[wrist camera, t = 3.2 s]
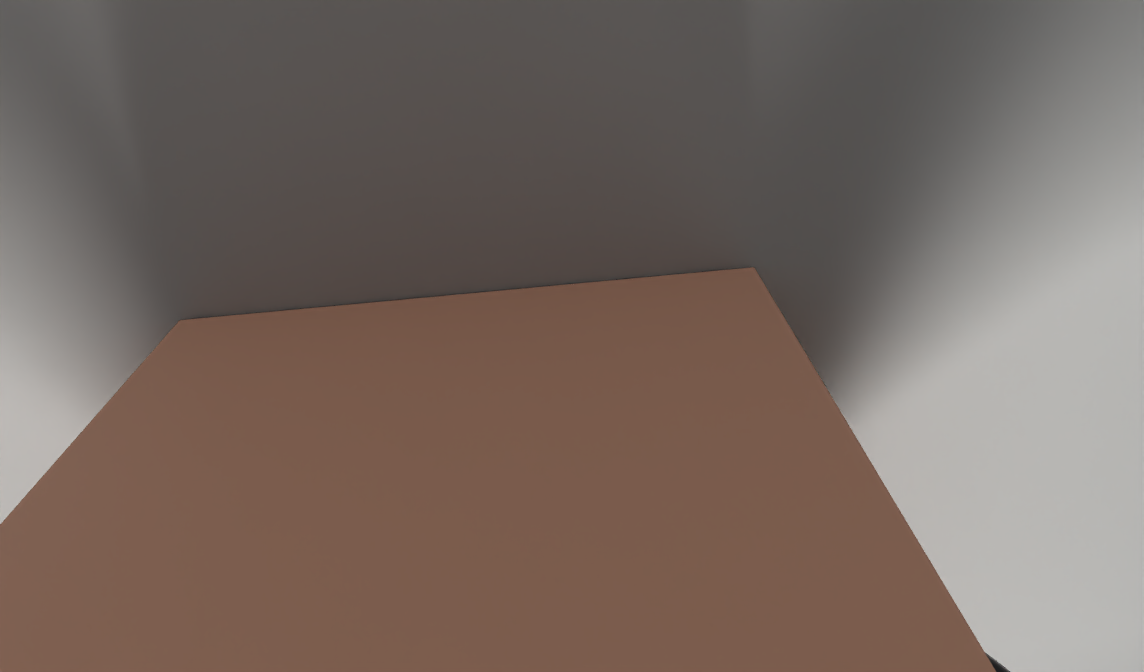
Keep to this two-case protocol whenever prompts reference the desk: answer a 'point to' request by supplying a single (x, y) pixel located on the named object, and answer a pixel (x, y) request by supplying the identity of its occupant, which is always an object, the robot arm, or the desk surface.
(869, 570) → the terracotta block
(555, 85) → the desk surface
